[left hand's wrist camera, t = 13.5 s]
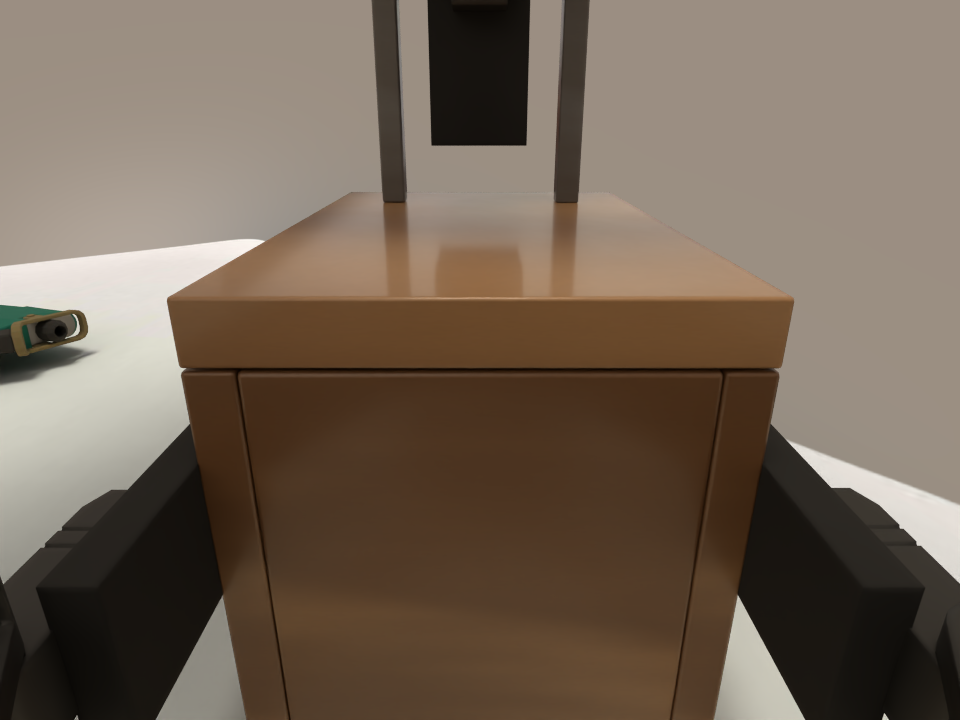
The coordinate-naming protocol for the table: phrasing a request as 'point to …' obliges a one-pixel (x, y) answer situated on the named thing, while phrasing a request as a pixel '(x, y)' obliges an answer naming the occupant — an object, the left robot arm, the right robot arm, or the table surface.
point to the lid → (480, 271)
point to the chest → (480, 536)
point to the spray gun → (37, 328)
